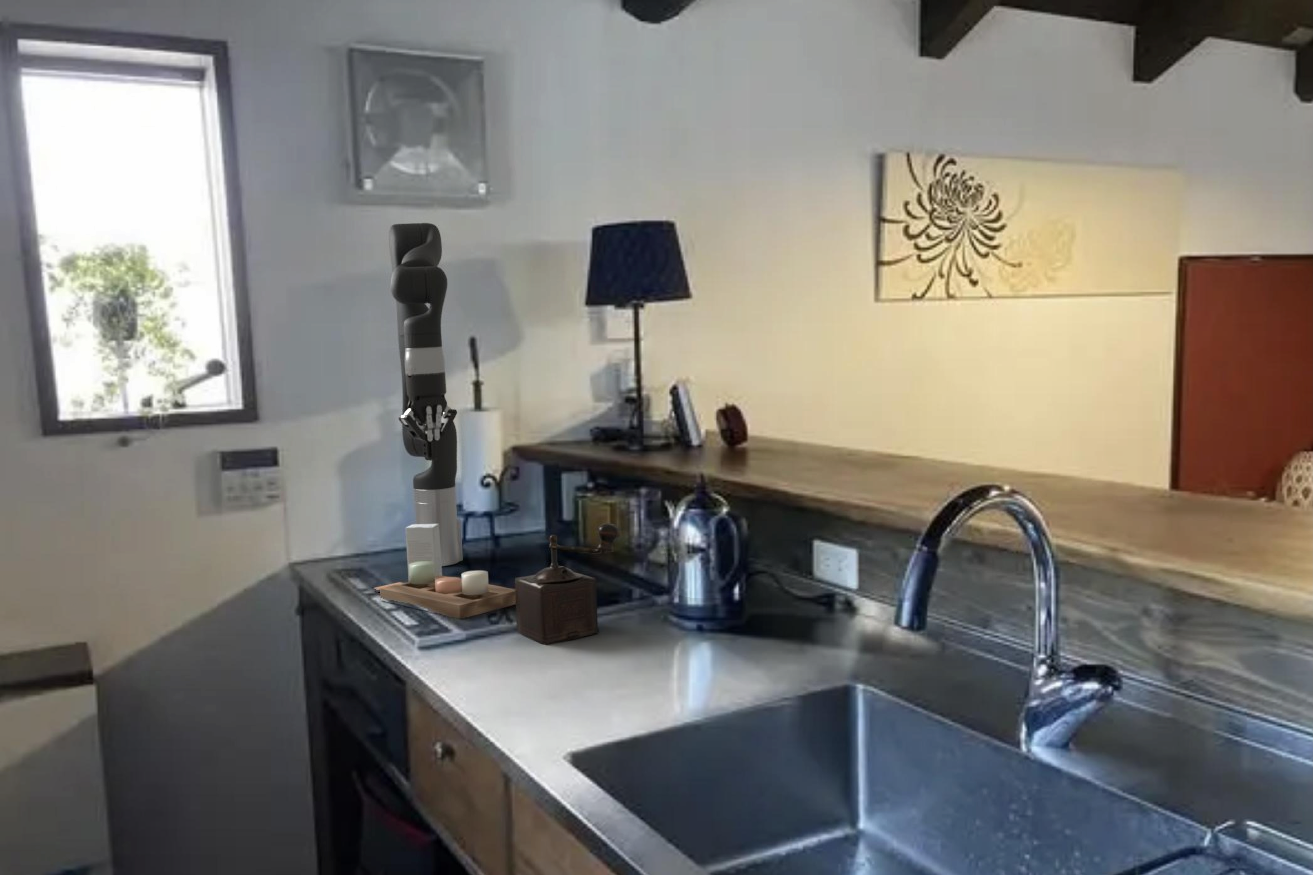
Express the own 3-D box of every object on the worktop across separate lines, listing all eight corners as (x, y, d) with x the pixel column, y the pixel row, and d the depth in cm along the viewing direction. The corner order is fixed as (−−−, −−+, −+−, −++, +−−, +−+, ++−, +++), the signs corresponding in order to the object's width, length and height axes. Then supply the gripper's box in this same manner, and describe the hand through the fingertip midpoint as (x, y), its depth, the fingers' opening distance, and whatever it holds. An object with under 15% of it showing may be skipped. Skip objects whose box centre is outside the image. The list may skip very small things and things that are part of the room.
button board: (439, 587, 213) (439, 574, 213) (519, 603, 197) (518, 590, 197) (380, 601, 202) (379, 588, 202) (459, 619, 187) (459, 605, 187)
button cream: (477, 587, 198) (476, 569, 197) (494, 591, 195) (493, 572, 194) (456, 592, 194) (456, 574, 194) (473, 596, 191) (472, 577, 191)
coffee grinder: (546, 646, 168) (541, 535, 166) (514, 632, 177) (510, 526, 176) (628, 629, 177) (624, 523, 175) (594, 616, 186) (590, 515, 184)
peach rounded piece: (451, 593, 203) (450, 575, 203) (467, 597, 200) (466, 578, 200) (430, 598, 200) (429, 580, 199) (446, 602, 196) (445, 583, 196)
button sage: (425, 577, 208) (424, 560, 208) (440, 580, 205) (439, 562, 205) (404, 582, 205) (403, 564, 204) (419, 585, 201) (418, 567, 201)
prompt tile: (399, 586, 215) (399, 582, 215) (417, 589, 211) (417, 585, 211) (374, 591, 211) (374, 587, 211) (392, 595, 207) (391, 591, 207)
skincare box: (443, 580, 219) (440, 523, 218) (436, 584, 215) (433, 526, 214) (414, 580, 220) (411, 523, 219) (407, 585, 216) (404, 527, 215)
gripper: (440, 368, 211) (445, 454, 213) (385, 373, 201) (391, 463, 203) (464, 368, 207) (470, 456, 209) (409, 373, 197) (415, 465, 199)
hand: (431, 459), depth 206 cm, fingers closed
